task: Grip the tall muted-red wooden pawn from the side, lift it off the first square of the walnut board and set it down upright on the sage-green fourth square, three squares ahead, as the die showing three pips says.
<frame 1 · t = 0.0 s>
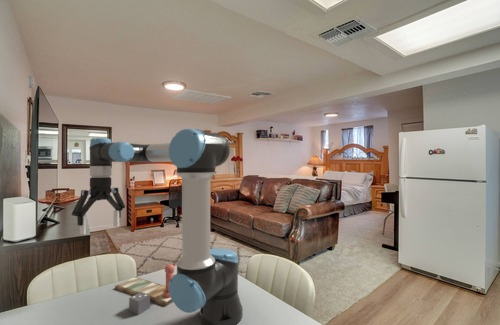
hand: (100, 229, 101), 28 cm above the table, fingers open, 13 cm apart
die: (139, 310, 93), on the table
board: (148, 291, 107), on the table
pawn: (169, 294, 101), point 1 cm above the table, touching board
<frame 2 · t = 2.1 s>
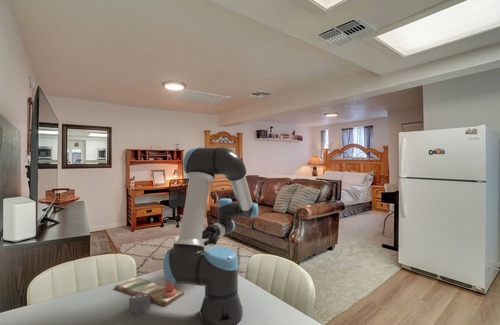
hand: (186, 243, 110), 19 cm above the table, fingers open, 13 cm apart
nothing on the table moved.
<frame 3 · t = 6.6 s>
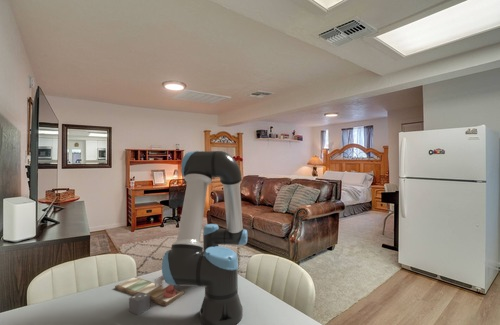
hand: (159, 284, 97), 8 cm above the table, fingers closed on pawn, 3 cm apart
pawn: (169, 294, 101), point 1 cm above the table, touching board, gripper
everything else where it was.
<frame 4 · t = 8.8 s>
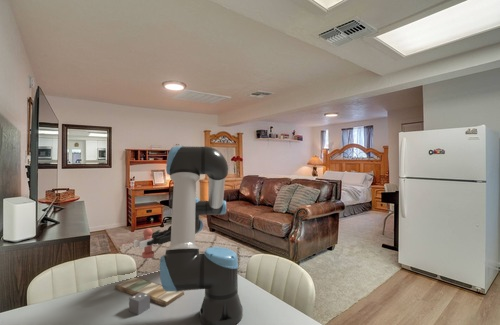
hand: (136, 244, 105), 21 cm above the table, fingers closed on pawn, 3 cm apart
pawn: (148, 256, 109), point 14 cm above the table, touching gripper
everything else where it was.
when the fingers open (9 cm above the table, at t = 11.3 s): pawn drops 1 cm, resting on board.
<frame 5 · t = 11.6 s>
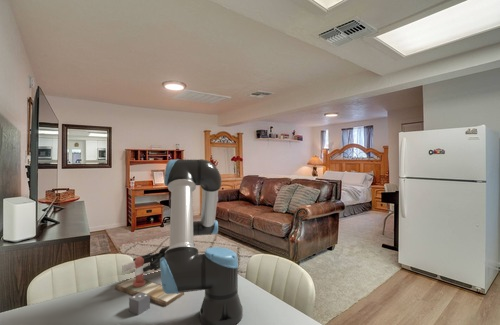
hand: (129, 270, 105), 10 cm above the table, fingers open, 7 cm apart
pawn: (139, 285, 110), point 1 cm above the table, touching board
everything else where it was.
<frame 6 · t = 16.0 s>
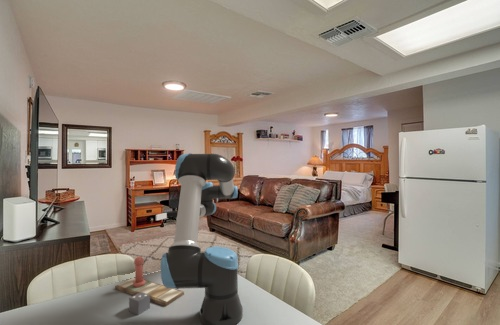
hand: (166, 219, 120), 28 cm above the table, fingers open, 13 cm apart
nothing on the table moved.
at the end: pawn 0.1 cm from the target spot, point 1.4 cm above the table; pawn tilted 1°; the gripper is holding nothing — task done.
